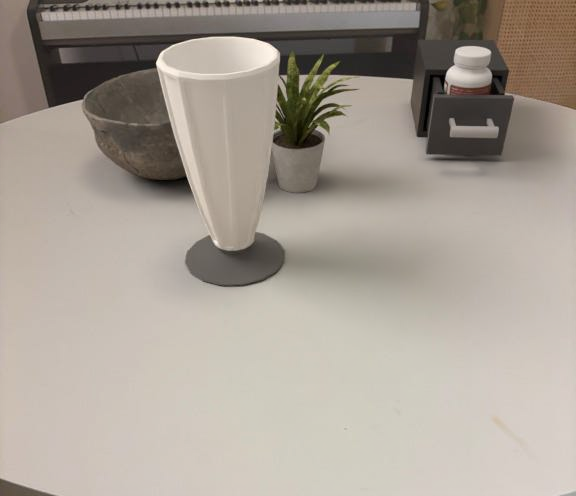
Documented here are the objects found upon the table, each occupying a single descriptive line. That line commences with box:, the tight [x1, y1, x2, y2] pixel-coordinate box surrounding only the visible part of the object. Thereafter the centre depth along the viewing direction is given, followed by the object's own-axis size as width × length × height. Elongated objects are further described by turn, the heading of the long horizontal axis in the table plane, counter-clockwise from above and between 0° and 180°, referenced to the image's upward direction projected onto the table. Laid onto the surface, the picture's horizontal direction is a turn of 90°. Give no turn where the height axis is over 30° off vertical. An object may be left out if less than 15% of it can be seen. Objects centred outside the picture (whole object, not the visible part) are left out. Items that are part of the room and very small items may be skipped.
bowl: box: [81, 67, 187, 181], centre depth 87 cm, size 21×21×10 cm
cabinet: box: [410, 39, 510, 138], centre depth 98 cm, size 14×12×10 cm
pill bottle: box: [443, 46, 492, 95], centre depth 88 cm, size 6×6×11 cm
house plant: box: [271, 50, 359, 194], centre depth 80 cm, size 14×14×16 cm
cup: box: [155, 36, 285, 287], centre depth 66 cm, size 12×12×22 cm
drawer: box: [425, 75, 515, 157], centre depth 90 cm, size 17×10×8 cm, turn 176°
